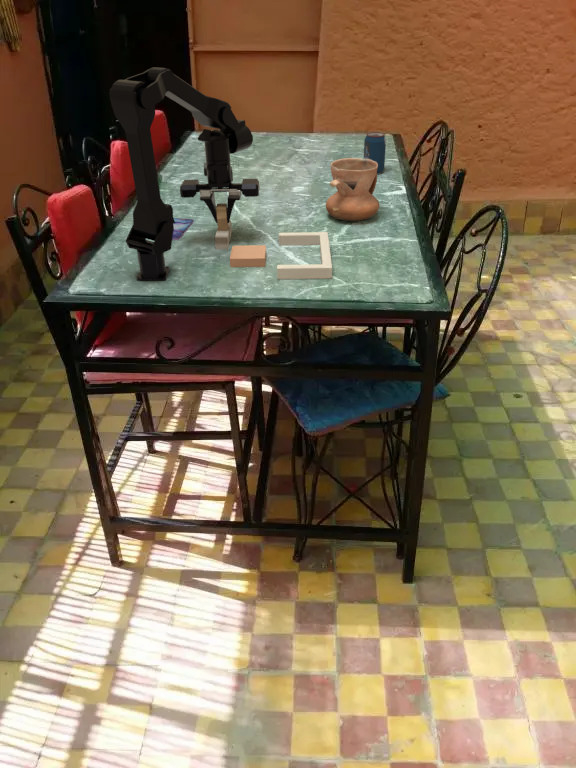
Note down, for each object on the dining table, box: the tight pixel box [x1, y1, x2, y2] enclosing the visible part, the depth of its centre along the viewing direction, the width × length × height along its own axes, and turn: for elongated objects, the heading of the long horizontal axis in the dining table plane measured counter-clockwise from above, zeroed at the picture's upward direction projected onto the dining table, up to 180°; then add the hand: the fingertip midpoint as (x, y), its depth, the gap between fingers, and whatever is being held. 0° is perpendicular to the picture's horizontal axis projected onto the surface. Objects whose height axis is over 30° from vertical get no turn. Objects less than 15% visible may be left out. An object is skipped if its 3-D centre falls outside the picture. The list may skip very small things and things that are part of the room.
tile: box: [229, 244, 267, 268], centre depth 149 cm, size 8×8×2 cm
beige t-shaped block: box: [214, 203, 233, 250], centre depth 158 cm, size 12×3×9 cm, turn 179°
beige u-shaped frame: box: [276, 231, 333, 280], centre depth 149 cm, size 12×22×2 cm, turn 0°
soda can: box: [363, 131, 387, 175], centre depth 206 cm, size 7×7×12 cm
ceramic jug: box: [325, 157, 380, 222], centre depth 170 cm, size 18×14×14 cm
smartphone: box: [172, 217, 195, 242], centre depth 167 cm, size 7×1×15 cm
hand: (222, 222), depth 158 cm, fingers closed on beige t-shaped block, 2 cm apart
